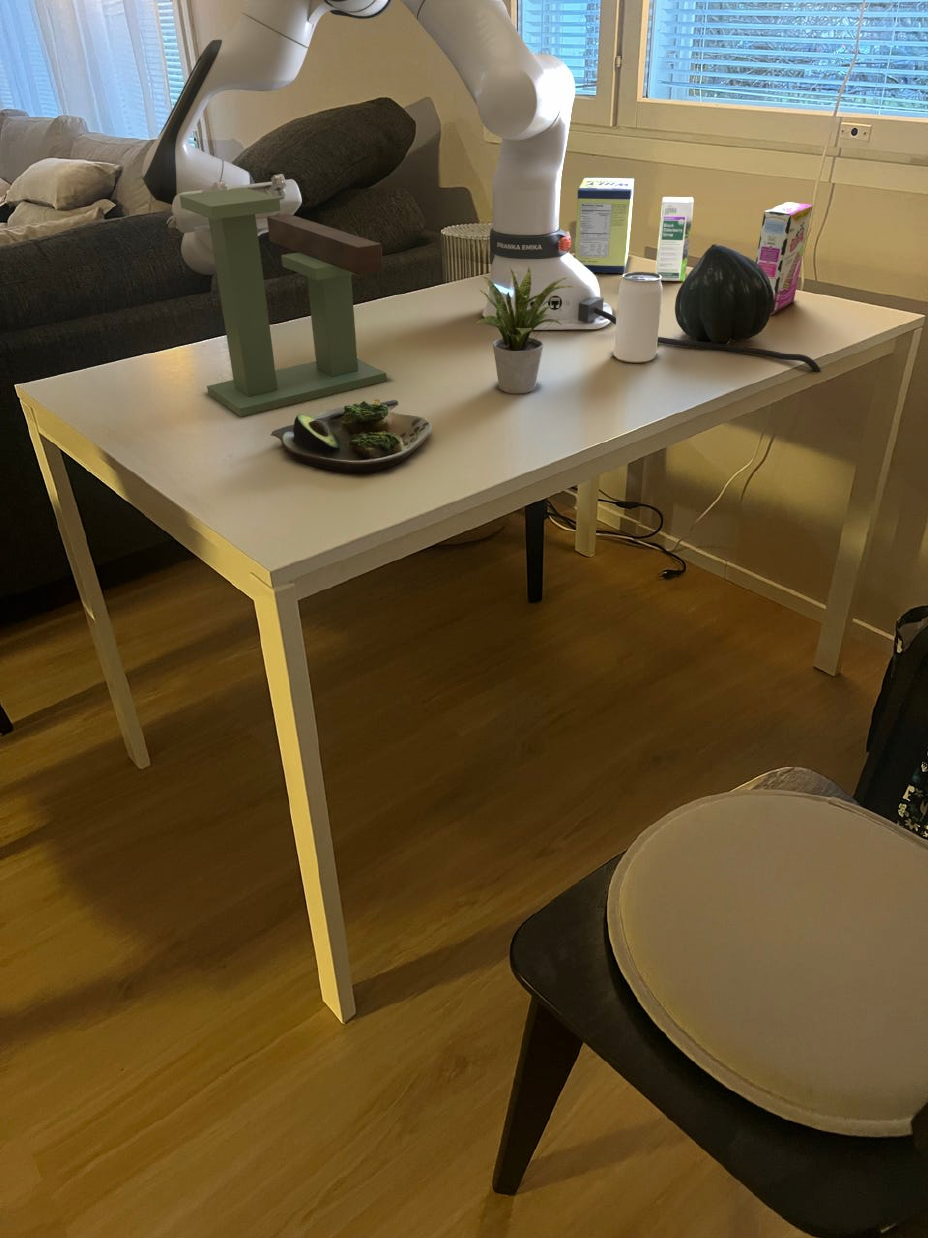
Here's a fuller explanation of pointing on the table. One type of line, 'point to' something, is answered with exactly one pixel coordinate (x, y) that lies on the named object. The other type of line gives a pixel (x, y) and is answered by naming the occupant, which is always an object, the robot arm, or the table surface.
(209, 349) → the table surface
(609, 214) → the protein box
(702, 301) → the squash
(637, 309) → the can
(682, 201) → the syrup box
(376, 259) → the walnut stick
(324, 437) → the salad plate
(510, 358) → the house plant
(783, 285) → the candy bar box
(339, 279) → the plant stand
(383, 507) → the table surface
